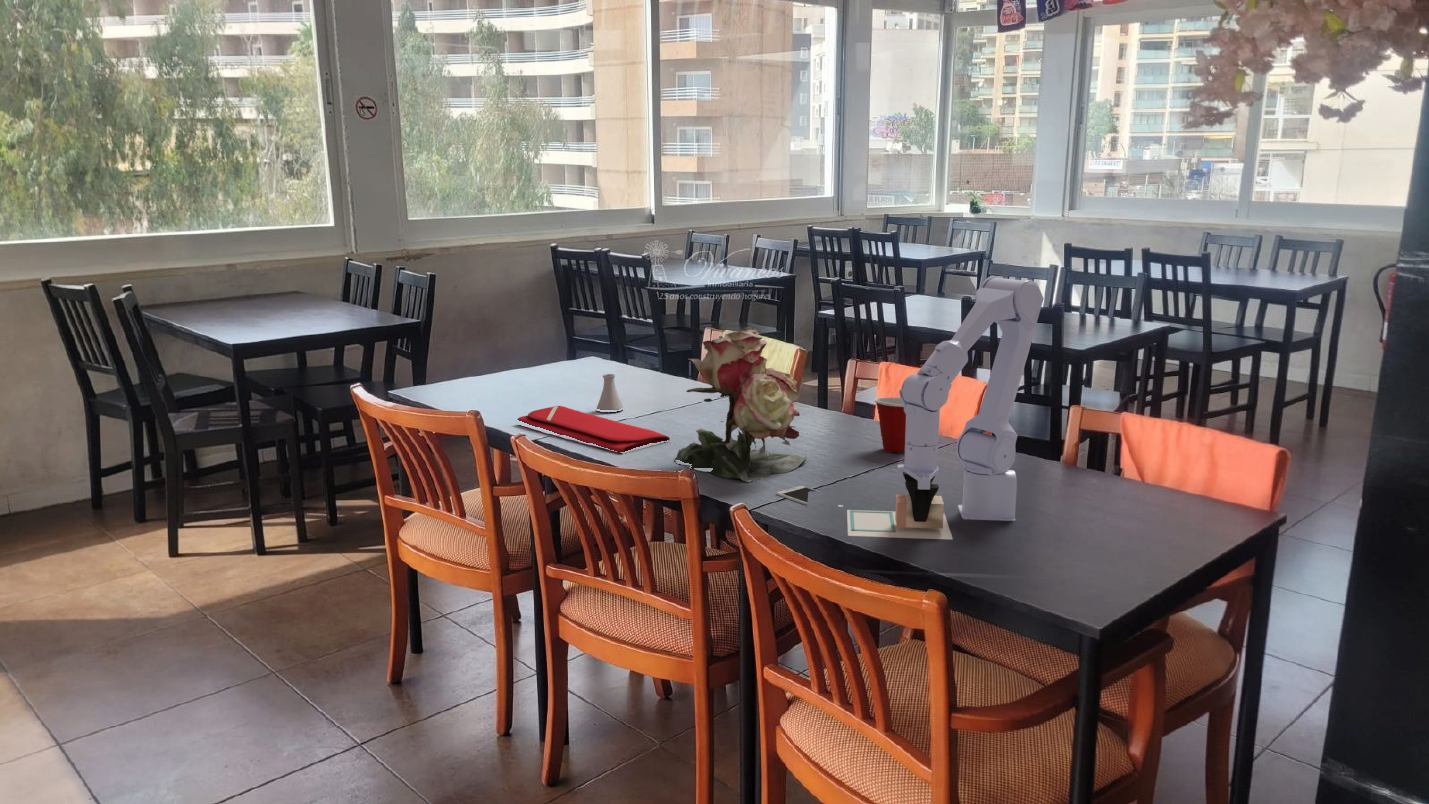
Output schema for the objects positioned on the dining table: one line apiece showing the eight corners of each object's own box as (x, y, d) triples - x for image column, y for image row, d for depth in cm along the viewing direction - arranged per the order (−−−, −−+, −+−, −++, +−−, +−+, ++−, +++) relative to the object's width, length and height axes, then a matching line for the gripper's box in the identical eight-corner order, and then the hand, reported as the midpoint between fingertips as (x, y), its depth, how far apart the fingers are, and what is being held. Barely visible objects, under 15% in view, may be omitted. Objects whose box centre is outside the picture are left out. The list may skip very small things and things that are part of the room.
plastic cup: (929, 449, 232) (931, 398, 230) (903, 458, 225) (905, 406, 222) (889, 441, 240) (891, 392, 237) (863, 450, 232) (865, 399, 229)
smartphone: (830, 515, 188) (831, 511, 188) (775, 496, 200) (775, 491, 200) (857, 508, 193) (857, 503, 193) (801, 489, 205) (801, 484, 204)
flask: (628, 410, 274) (627, 374, 272) (612, 415, 268) (611, 378, 266) (607, 406, 278) (606, 371, 275) (591, 412, 272) (589, 375, 269)
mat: (944, 515, 187) (944, 512, 187) (952, 542, 173) (952, 538, 173) (846, 512, 189) (846, 509, 189) (847, 538, 175) (847, 535, 175)
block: (940, 519, 180) (941, 495, 179) (942, 528, 176) (944, 504, 175) (895, 518, 181) (895, 494, 180) (896, 527, 177) (897, 502, 176)
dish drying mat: (621, 456, 229) (620, 441, 229) (515, 427, 257) (514, 413, 256) (670, 443, 241) (670, 428, 240) (564, 417, 268) (563, 403, 267)
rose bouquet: (762, 489, 204) (763, 343, 197) (661, 462, 223) (659, 329, 216) (836, 462, 222) (839, 328, 216) (737, 440, 241) (737, 316, 235)
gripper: (896, 431, 183) (893, 502, 186) (901, 453, 169) (898, 529, 172) (935, 432, 182) (932, 503, 185) (944, 454, 168) (940, 530, 171)
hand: (918, 516), depth 178 cm, fingers closed on block, 5 cm apart
